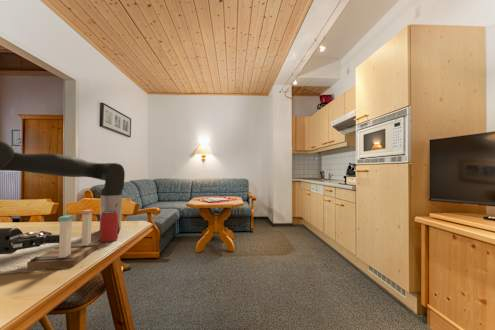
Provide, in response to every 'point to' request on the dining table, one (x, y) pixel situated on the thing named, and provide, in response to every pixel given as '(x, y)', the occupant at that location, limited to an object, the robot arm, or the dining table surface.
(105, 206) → the robot arm
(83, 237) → the white tall bar
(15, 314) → the dining table surface
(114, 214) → the beer can
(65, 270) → the dining table surface
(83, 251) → the wooden slider base
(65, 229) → the teal slider
